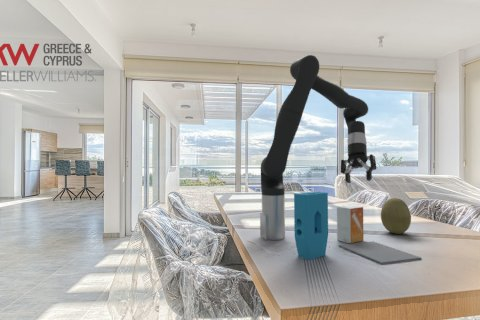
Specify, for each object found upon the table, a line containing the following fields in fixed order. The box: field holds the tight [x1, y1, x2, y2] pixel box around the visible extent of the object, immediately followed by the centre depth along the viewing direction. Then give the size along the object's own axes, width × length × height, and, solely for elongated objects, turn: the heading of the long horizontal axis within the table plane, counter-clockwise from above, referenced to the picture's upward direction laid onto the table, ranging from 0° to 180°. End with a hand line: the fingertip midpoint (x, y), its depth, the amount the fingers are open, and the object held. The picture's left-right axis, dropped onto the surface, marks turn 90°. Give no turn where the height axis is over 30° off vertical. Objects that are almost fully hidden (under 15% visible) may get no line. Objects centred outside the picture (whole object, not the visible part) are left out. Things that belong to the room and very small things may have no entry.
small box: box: [336, 204, 364, 244], centre depth 113 cm, size 8×6×13 cm
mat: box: [338, 240, 422, 265], centre depth 97 cm, size 15×20×1 cm
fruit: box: [380, 197, 412, 235], centre depth 124 cm, size 11×11×15 cm
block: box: [293, 191, 329, 261], centre depth 94 cm, size 12×5×20 cm, turn 128°
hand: (358, 181), depth 121 cm, fingers open, 8 cm apart
